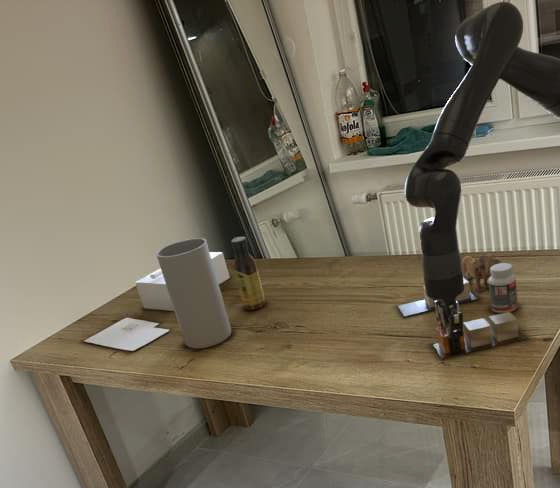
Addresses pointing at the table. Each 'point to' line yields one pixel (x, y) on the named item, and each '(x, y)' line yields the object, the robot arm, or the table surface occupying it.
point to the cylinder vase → (194, 293)
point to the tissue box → (156, 289)
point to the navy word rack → (428, 303)
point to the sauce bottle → (247, 275)
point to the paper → (128, 334)
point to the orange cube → (444, 340)
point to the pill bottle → (502, 288)
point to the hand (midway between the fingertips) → (451, 347)
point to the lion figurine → (479, 268)
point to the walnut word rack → (487, 334)
